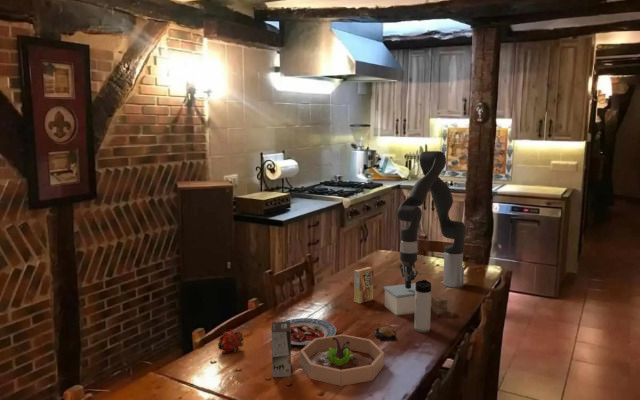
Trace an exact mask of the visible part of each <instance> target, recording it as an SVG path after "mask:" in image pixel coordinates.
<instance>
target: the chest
mask: <svg viewBox="0 0 640 400" xmlns="http://www.w3.org/2000/svg"><path fill="white" fill-rule="evenodd" d="M384 307H385V308H386V309H387V310H389V311H390V312H391V313H393V314H394V315H395V316H402V315H403V316H405V315H411V314H415V295H411V296H404V297H395V296H393V295H392V294H391V293H389V292H388V291H386V290H385V289H384Z"/></svg>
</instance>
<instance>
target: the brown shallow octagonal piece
mask: <svg viewBox="0 0 640 400" xmlns="http://www.w3.org/2000/svg"><path fill="white" fill-rule="evenodd" d="M332 337H335V338H337V339H338V341H339V343H340V348H342V346H343V344H344V343H345V342H346V341H350V342H351V345H348V344H347V343H346V344H345V346H346V347H349V348H350V350H351V351H355V352H359V353H365V354H368V355H370V356H371V357H372V359H374V360H373V361H371V363H370V365H367V366H361V367H356V368H350V369H344V370H339V369H335V368H330V367H326V366H321V365H317V364H312V362H311V361H312V360H311V358H313V357H314V356H315V354H317V353H322V352H325V351H328V350H329V348H330V347H331V348H333V349H336V348H337V341H336V340H334V341H331V338H332ZM300 366H301V367H302V368H303V370H304V372H305V373H306V374H307V376H308V378H309V379H310V380H314V381H318V382H322V383H327V384H331V385H334V386H335V385H336V386H338V387H339V386H340V387H343V386H348V385H354V384H359V383H360V384H361V383H366V382H371V381H373V380H375V378H376V377H377V375H378V374H379V373H380V371H382V369H383V368H384V366H385V352H384V351H383V350H382V349H381V348H380V347H379V345H377V344H376V343H375V342H374V341H373V340H372V339H369V338H364V337H358V336H352V335H350V334H349V335H347V334H344V333H343V334H335V336H329V337H322V338H315V339H314V340H312V341H311V342H310V343H309V344H308V345H304V347H303V348H302V349H300Z"/></svg>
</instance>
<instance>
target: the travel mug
mask: <svg viewBox="0 0 640 400" xmlns="http://www.w3.org/2000/svg"><path fill="white" fill-rule="evenodd" d="M415 283H416V289H415V313H414V326H413V327H414V330H415V331H416V332H418V333H429V332H430V331H431V312H432V310H431V304H432V282H430V281H428V280H426V279H422V280H418V281H416V282H415Z"/></svg>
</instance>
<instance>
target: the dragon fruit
mask: <svg viewBox="0 0 640 400" xmlns="http://www.w3.org/2000/svg"><path fill="white" fill-rule="evenodd" d="M244 343H245V342H244V338H243V333H242V332H241V331H240V330H238V329H237V330H236V329H235V330H232V329H229V331H224V332H223V334H222V335H221V336H220V337H219V342H218V343H217V347H218V349H219V350H220V351H221V354H229V353H230V352H233V353H234V354H235V353H237V351H238V350H239V348H241V347H243V346H244Z"/></svg>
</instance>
